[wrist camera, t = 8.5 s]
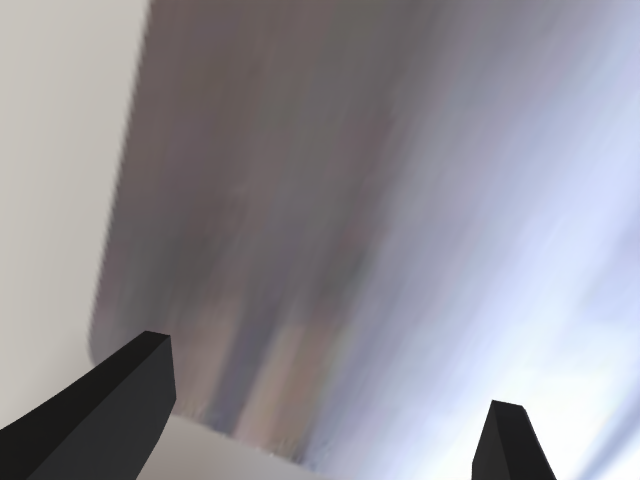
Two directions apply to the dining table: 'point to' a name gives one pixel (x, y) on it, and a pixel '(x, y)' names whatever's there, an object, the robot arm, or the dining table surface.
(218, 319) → the dining table surface
